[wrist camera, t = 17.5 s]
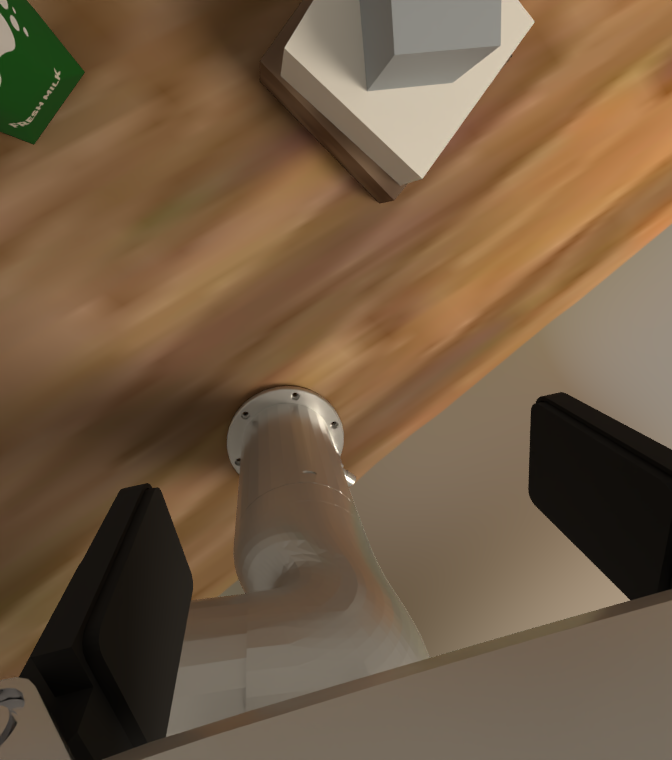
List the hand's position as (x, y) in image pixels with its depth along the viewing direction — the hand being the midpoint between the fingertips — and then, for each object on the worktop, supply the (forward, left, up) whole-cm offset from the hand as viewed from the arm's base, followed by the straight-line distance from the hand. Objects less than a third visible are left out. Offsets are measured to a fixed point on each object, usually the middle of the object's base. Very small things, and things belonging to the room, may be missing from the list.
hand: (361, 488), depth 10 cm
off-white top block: (+6, -19, -28) cm, 34 cm away
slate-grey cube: (+6, -19, -23) cm, 30 cm away
